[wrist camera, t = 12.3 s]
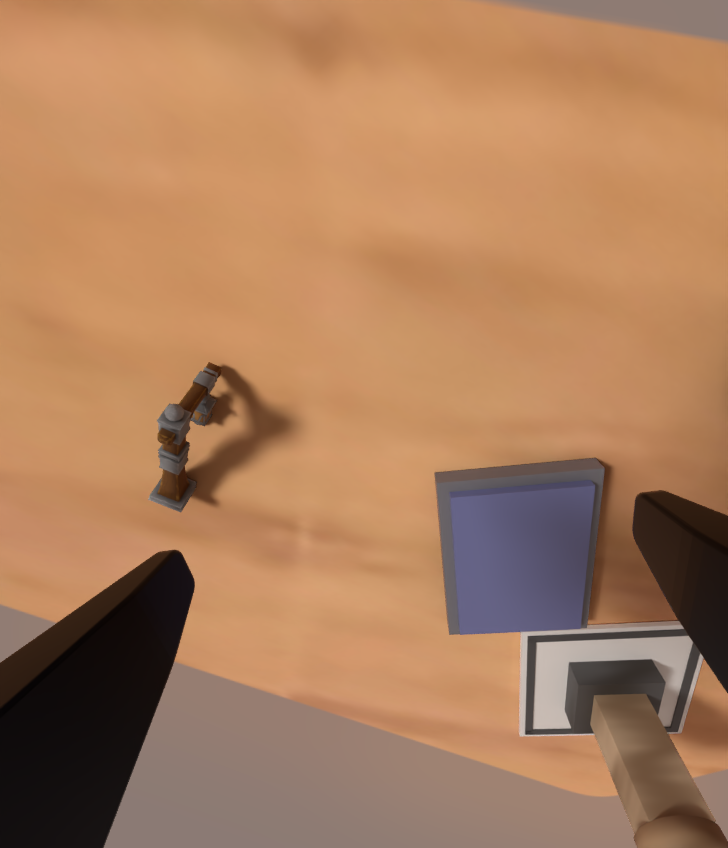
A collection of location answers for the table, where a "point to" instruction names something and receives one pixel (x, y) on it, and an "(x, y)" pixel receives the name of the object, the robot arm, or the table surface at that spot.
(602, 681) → the stamp
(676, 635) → the marked card
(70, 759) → the robot arm
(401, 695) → the table surface
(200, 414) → the wooden post with brackets
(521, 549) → the ink pad
